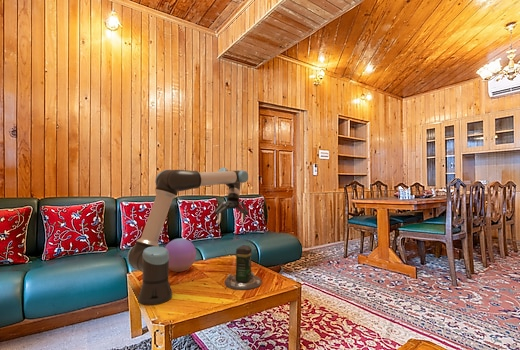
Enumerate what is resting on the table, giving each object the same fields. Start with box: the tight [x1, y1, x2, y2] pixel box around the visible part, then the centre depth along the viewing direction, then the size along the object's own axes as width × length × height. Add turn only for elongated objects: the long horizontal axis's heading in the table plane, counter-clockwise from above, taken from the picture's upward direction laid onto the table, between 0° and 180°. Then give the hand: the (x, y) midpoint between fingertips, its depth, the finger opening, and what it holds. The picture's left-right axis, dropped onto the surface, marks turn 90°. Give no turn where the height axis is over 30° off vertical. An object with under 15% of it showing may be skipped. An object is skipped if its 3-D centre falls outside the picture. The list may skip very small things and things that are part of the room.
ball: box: [164, 237, 197, 273], centre depth 177 cm, size 20×20×20 cm
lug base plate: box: [224, 271, 262, 291], centre depth 157 cm, size 20×20×3 cm
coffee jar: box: [235, 244, 252, 283], centre depth 157 cm, size 10×8×19 cm
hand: (230, 223), depth 169 cm, fingers open, 13 cm apart
